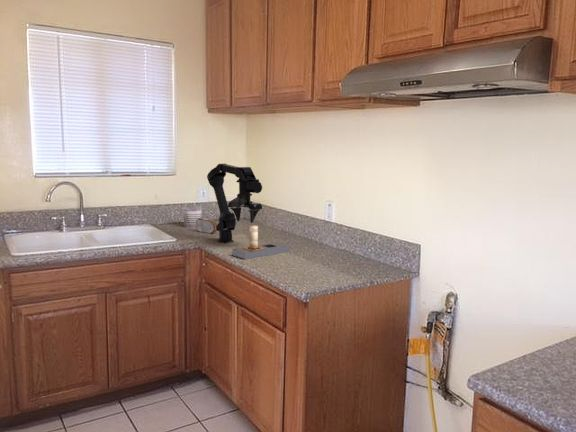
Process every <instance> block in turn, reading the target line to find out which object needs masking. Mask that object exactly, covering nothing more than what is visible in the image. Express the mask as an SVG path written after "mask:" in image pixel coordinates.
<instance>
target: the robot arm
mask: <svg viewBox="0 0 576 432" xmlns="http://www.w3.org/2000/svg"><path fill="white" fill-rule="evenodd" d="M227 174H232V175H234V176H235V177H236V178H237V180H236V183H238V193H237V194H236V197H234V198H233V199H232V200H230V201H229V202H228V201H227V197H226V193H225V190H224V182H225V177H226V175H227ZM206 178H207V181H208V183H209V185H210V186H211V187H212V188H213V191H214V195H215V198H216V203H217V206H218V209H219V213H220V214H219V218H218V223H217V226H216V229H217V231H216V232H218V233H219V234H218V235H219V240H217V242H218V243H223V244H227V243H233V242H234V239H233V233H232V232H233V231H234V230H235V228H236V224H237V222H240V219H241V213H242V208H248V212H249V216H250V217H249V220H250V224H253V223H254V221H255V219H256V217H257V214H258V213H259V212H261V210H262V209H263V204H262V203H260V202H259V203H257V202H254V203H253V201H251V196H253V194H260V193H261V192H262V191H263V184H262V183H261V182H260V179H259V178H256V176H255V174H254V171H253V169H252V167H250V166H236V165H231V164H227V163H217V165H216V166H215V167H213V168H212V169H211V170H210V171H208V174H207V175H206ZM230 210H232V211H233V212H231V211H230Z"/></svg>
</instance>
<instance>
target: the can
mask: <svg viewBox="0 0 576 432" xmlns="http://www.w3.org/2000/svg"><path fill="white" fill-rule="evenodd" d="M182 209H183V228H185V229H197V228H196V221H197V220H198V219H200V218H203V217H202V216H203V215H202V209H203V207H200V206H196V205H194V206H191V205H190V206H184V207H183V208H182Z"/></svg>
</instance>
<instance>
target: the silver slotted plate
mask: <svg viewBox="0 0 576 432" xmlns="http://www.w3.org/2000/svg"><path fill="white" fill-rule="evenodd" d="M249 247H250V246H245V247H239V248H233V249H232V250H231V251H232V252H231V253H232V255H231V256H233V257H236V258H240V259H242V260H251V259H256V258H261V257H267V256H271V255H277V254H282V253H287V252H290V251H291V248H290V247H291V245H289V244H286V243H282V242H278V241H274V242H269V243H263V244H258V249H255V250H251V249H249Z"/></svg>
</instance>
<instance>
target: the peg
mask: <svg viewBox="0 0 576 432" xmlns="http://www.w3.org/2000/svg"><path fill="white" fill-rule="evenodd" d="M258 245H259V225H249V246H248V247H249V249H251V250H255V249H258Z"/></svg>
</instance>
